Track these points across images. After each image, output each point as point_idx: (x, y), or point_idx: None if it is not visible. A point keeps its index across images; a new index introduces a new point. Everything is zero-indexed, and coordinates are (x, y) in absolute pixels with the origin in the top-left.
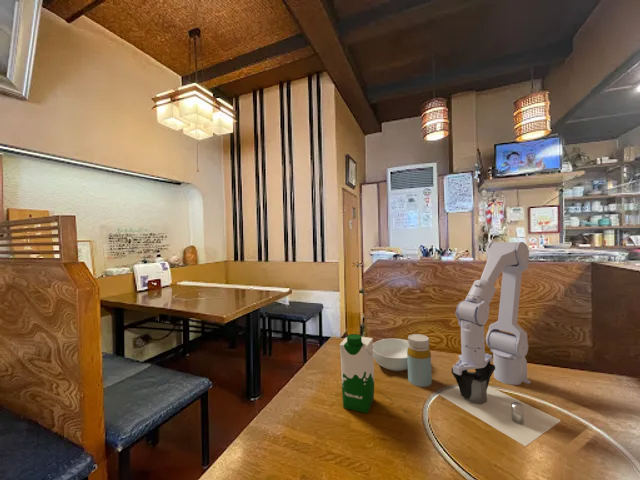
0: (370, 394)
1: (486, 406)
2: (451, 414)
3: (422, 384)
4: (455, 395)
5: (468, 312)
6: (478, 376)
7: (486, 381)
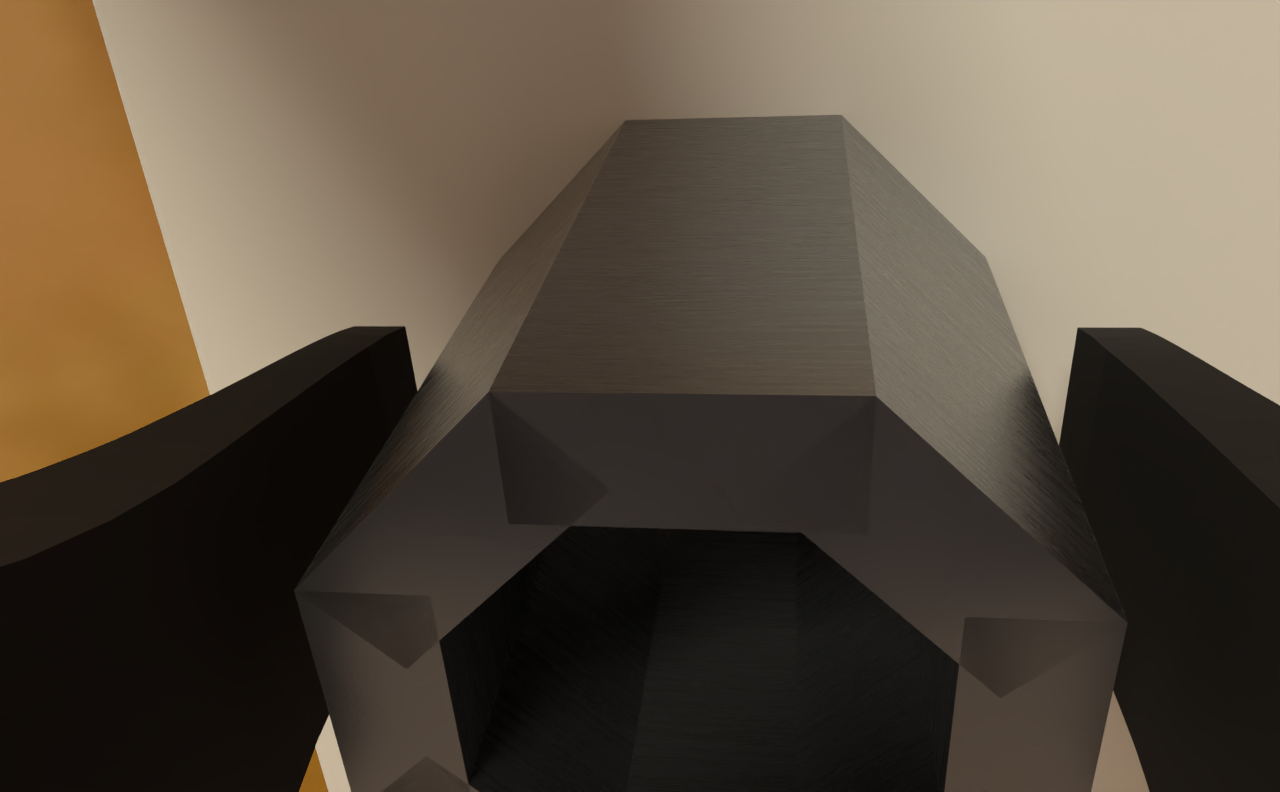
0: None
1: None
2: (53, 317)
3: None
4: (412, 79)
5: None
6: (945, 721)
7: (1133, 696)
